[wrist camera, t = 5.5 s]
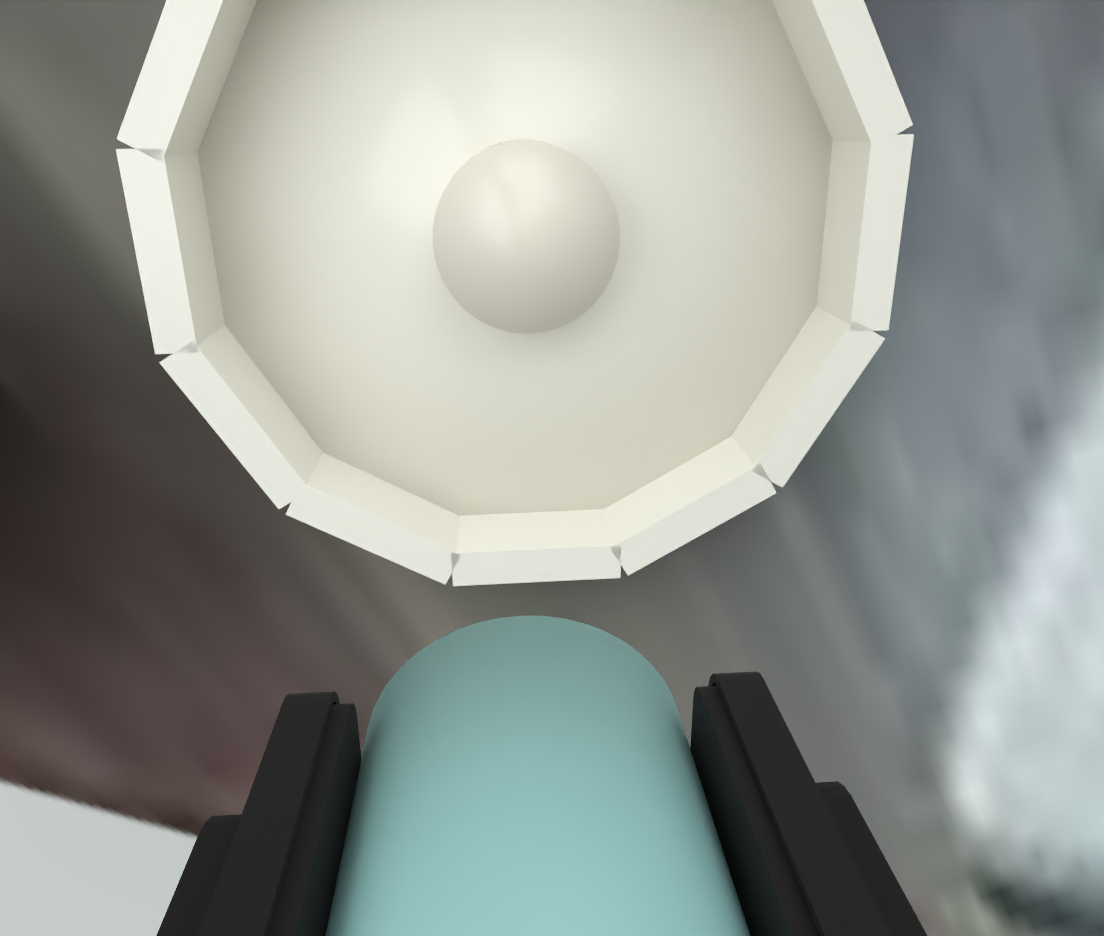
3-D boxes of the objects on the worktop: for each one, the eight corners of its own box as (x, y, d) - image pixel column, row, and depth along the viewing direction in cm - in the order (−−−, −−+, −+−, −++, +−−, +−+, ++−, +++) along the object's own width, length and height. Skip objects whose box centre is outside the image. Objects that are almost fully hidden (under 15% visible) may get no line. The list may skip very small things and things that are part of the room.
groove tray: (111, -173, 19) (44, -226, 16) (891, -171, 20) (960, -220, 18) (234, 544, 26) (202, 598, 23) (817, 517, 27) (857, 566, 24)
